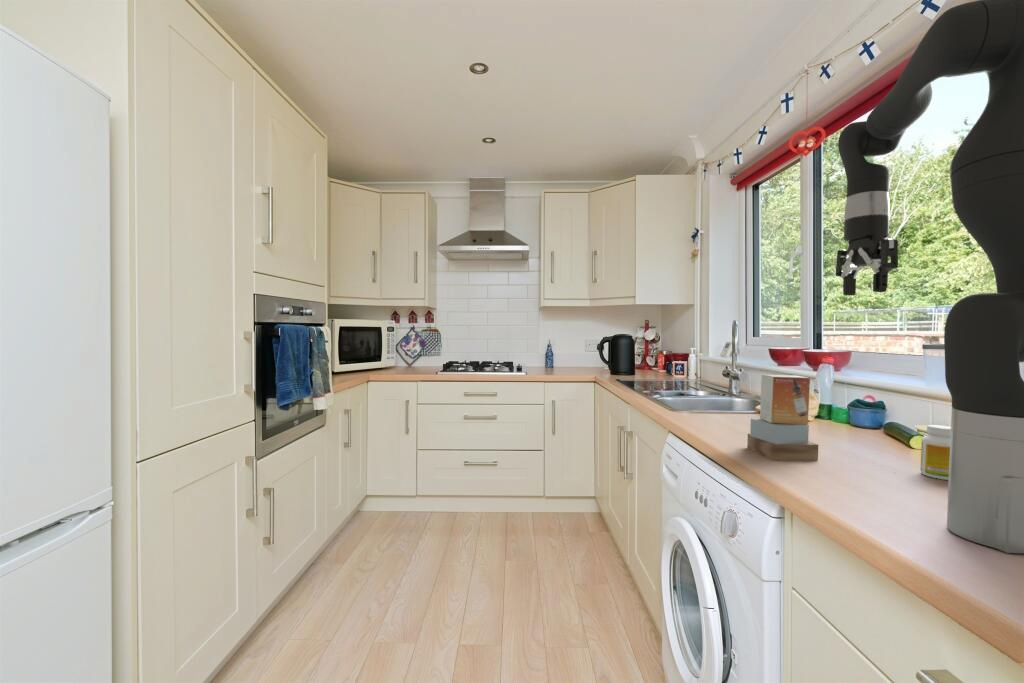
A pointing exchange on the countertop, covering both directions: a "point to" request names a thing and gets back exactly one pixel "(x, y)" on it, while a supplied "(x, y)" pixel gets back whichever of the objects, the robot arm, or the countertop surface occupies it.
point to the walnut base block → (783, 450)
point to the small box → (785, 399)
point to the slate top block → (779, 432)
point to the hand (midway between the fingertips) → (863, 293)
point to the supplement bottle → (936, 452)
